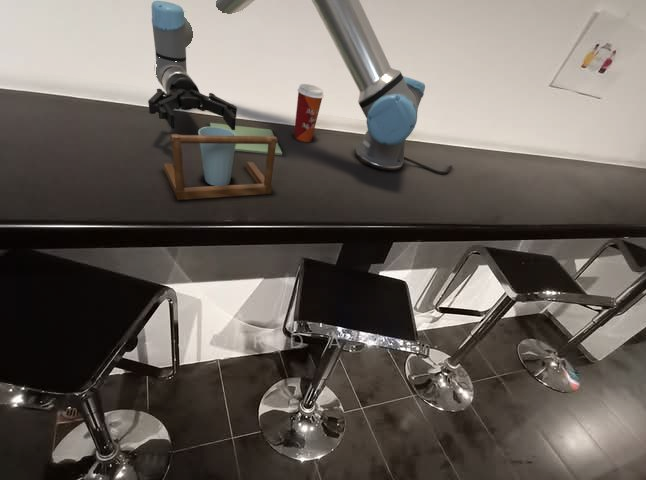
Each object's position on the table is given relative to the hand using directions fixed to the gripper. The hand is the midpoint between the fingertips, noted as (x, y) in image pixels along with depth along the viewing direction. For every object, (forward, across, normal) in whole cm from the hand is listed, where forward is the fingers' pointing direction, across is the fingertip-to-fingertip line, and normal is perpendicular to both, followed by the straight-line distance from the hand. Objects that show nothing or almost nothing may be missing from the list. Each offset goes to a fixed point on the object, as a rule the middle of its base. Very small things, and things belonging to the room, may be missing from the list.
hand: (204, 123), depth 77 cm
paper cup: (-14, -34, -9) cm, 38 cm away
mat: (-12, -15, -9) cm, 21 cm away
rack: (+10, 0, -9) cm, 13 cm away
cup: (+10, 0, -9) cm, 13 cm away
